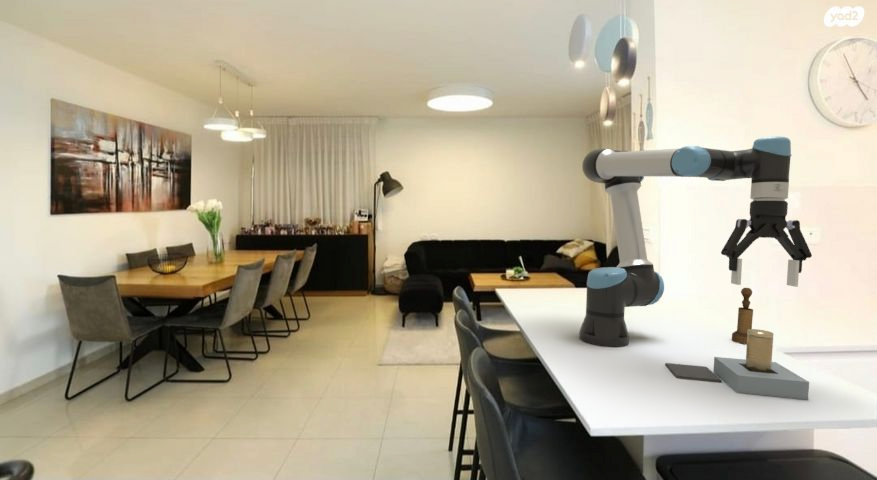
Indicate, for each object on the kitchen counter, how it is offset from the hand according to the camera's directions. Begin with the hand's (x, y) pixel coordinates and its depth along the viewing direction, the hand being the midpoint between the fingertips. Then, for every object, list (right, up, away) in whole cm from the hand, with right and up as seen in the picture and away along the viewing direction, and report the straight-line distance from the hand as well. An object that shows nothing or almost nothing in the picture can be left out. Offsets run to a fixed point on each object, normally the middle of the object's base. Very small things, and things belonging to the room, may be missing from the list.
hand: (763, 285), depth 109 cm
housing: (-5, -24, -4) cm, 25 cm away
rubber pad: (-17, -23, +3) cm, 28 cm away
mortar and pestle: (+19, -23, +35) cm, 46 cm away
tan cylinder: (-5, -24, -4) cm, 25 cm away
